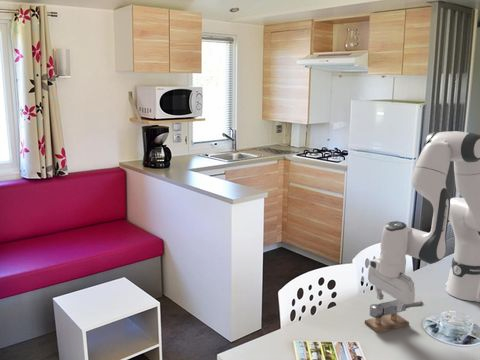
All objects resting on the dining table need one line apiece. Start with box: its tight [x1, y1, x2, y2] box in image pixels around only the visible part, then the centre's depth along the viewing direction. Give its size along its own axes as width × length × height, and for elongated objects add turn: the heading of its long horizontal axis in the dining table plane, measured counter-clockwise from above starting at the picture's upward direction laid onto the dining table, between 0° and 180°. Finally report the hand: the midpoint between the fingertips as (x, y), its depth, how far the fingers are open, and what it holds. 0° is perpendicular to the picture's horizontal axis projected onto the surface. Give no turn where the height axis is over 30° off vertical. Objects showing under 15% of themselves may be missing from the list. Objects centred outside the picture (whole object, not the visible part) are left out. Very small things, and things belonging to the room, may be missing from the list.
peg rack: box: [364, 313, 410, 334], centre depth 166 cm, size 14×7×5 cm, turn 114°
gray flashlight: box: [369, 299, 407, 318], centre depth 165 cm, size 14×4×3 cm, turn 114°
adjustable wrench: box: [382, 297, 422, 316], centre depth 179 cm, size 25×6×2 cm, turn 120°
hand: (388, 304), depth 165 cm, fingers open, 8 cm apart
